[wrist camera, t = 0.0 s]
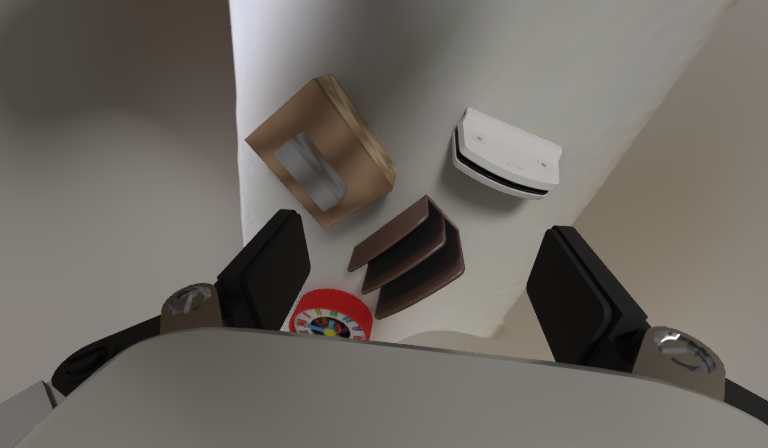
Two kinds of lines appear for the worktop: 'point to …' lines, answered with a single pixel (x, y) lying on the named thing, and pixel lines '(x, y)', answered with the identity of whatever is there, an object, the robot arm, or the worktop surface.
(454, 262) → the letter holder
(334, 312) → the toy clock
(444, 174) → the worktop surface
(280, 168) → the lid
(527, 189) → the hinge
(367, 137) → the wooden box
